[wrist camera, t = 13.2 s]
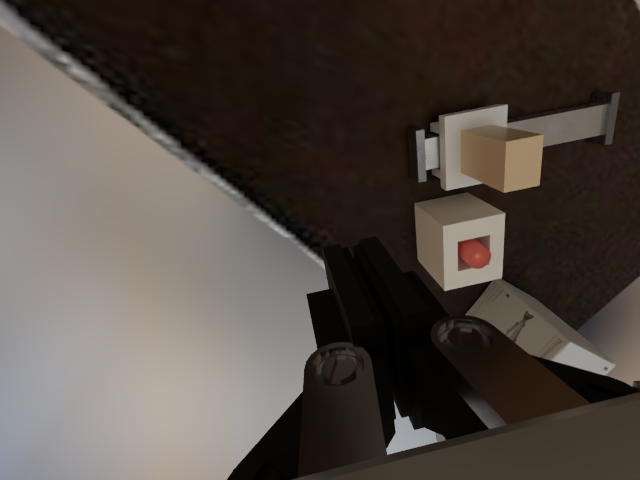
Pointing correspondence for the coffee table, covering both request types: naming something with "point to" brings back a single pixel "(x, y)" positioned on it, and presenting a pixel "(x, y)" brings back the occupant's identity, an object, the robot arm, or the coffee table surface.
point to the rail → (531, 130)
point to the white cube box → (458, 238)
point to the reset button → (474, 253)
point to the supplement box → (537, 328)
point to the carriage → (486, 151)
